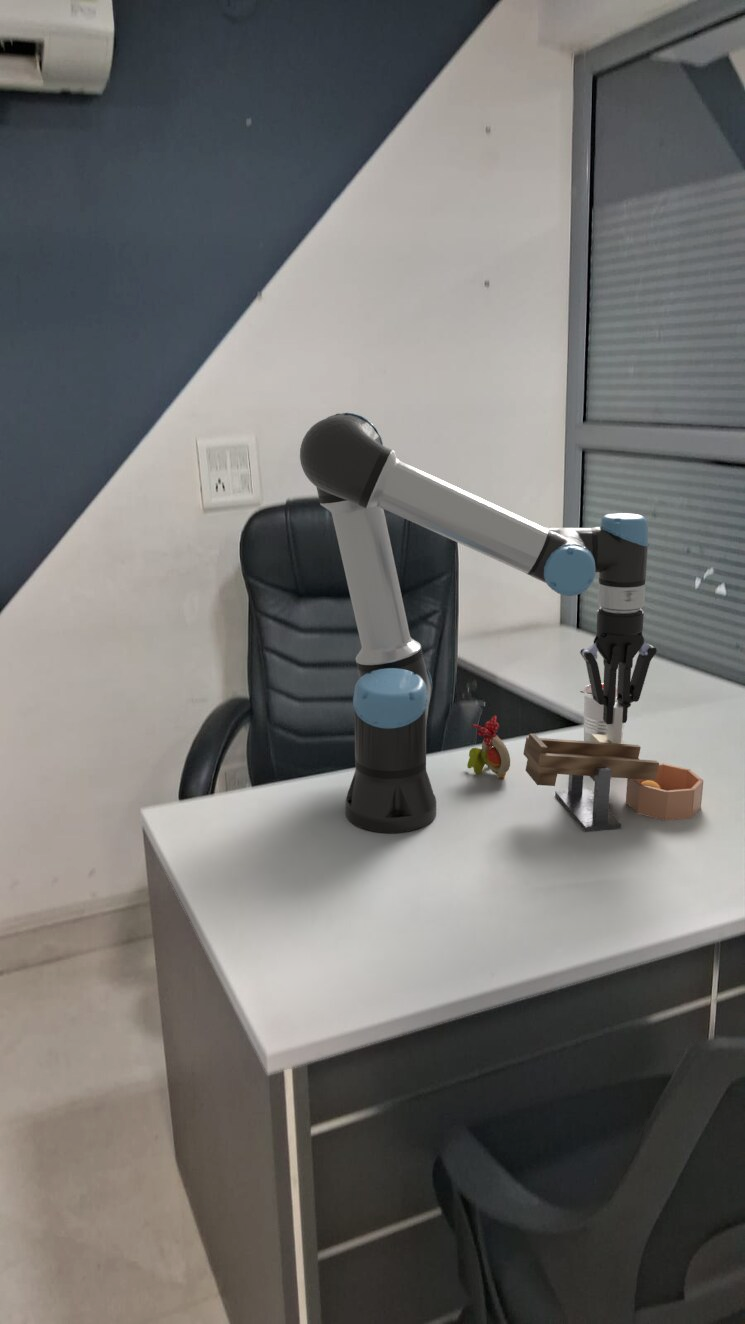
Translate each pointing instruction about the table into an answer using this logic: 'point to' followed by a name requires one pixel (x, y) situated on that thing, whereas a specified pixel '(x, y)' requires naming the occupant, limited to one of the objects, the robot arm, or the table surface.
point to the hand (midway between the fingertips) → (613, 740)
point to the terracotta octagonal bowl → (667, 794)
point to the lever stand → (590, 801)
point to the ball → (651, 784)
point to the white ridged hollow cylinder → (594, 715)
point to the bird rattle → (490, 751)
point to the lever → (584, 759)
